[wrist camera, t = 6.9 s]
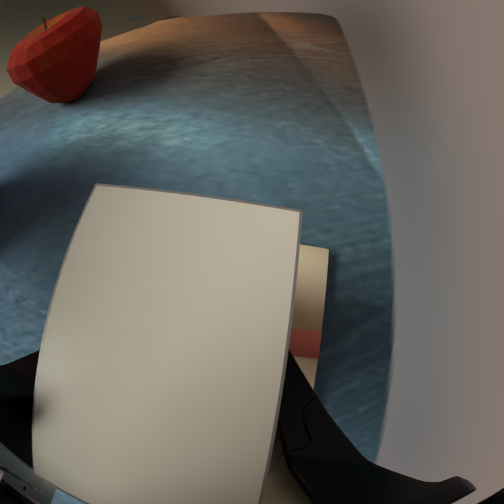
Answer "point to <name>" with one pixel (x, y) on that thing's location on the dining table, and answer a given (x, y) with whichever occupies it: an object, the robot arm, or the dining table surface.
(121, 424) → the white slab
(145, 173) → the dining table surface
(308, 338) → the board
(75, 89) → the apple
